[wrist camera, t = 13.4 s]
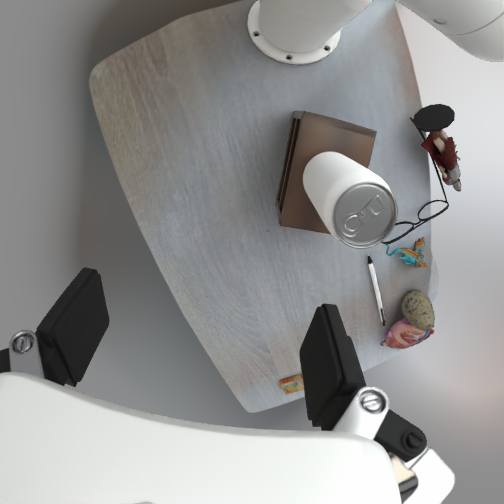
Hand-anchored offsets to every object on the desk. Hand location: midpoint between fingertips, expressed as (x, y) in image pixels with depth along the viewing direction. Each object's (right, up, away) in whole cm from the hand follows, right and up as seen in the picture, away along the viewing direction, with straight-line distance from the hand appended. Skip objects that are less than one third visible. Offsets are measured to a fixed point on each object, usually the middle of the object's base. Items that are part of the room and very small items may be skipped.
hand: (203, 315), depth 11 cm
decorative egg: (+34, -6, +38) cm, 51 cm away
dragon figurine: (+29, +3, +33) cm, 44 cm away
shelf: (+11, +15, +26) cm, 32 cm away
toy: (+14, -27, +48) cm, 57 cm away
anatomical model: (+29, -13, +39) cm, 51 cm away
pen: (+26, -5, +37) cm, 46 cm away
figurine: (+26, +21, +16) cm, 37 cm away
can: (+11, +11, +19) cm, 25 cm away
